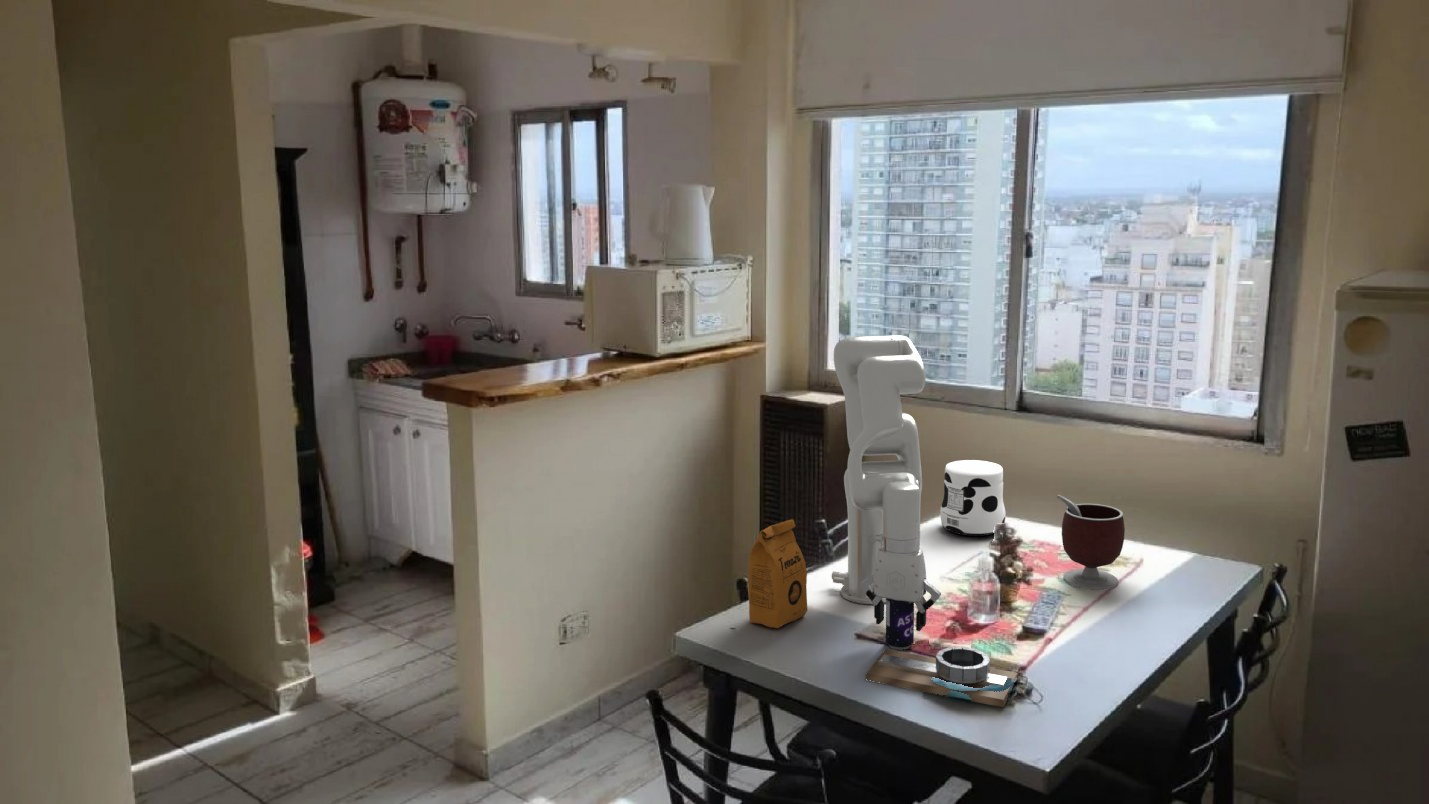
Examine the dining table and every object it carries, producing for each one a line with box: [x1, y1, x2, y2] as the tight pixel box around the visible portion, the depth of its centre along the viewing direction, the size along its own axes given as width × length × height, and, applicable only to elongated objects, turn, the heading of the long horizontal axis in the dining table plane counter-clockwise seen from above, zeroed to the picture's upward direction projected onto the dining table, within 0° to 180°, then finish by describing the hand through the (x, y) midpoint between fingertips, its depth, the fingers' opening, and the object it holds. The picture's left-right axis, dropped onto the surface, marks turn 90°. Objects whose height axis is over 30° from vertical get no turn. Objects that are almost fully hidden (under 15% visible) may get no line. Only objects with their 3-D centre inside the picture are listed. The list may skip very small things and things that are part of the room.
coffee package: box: [747, 518, 808, 629], centre depth 230 cm, size 10×12×22 cm
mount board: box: [865, 648, 1018, 708], centre depth 202 cm, size 26×12×2 cm, turn 63°
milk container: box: [939, 459, 1007, 537], centre depth 288 cm, size 17×17×18 cm
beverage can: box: [885, 598, 915, 651], centre depth 217 cm, size 6×6×12 cm
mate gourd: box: [1056, 494, 1126, 591], centre depth 250 cm, size 16×14×20 cm
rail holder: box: [878, 646, 1007, 687], centre depth 201 cm, size 24×10×4 cm, turn 63°
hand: (899, 624), depth 217 cm, fingers open, 7 cm apart
